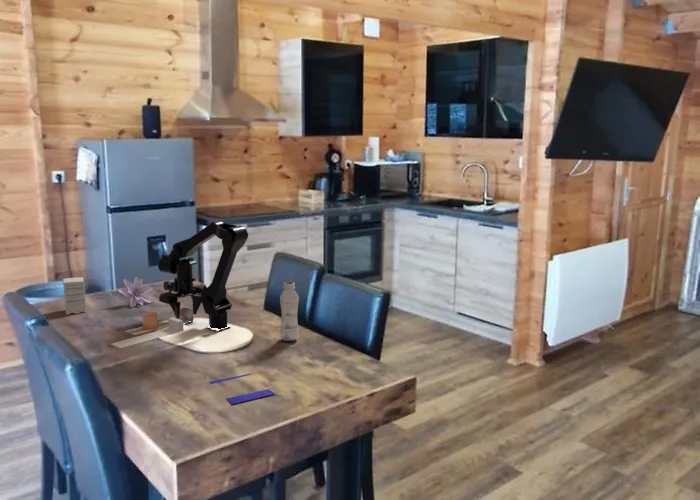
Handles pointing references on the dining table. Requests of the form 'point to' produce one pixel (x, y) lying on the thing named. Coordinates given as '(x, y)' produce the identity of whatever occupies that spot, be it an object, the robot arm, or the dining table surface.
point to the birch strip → (184, 315)
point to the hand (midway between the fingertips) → (186, 316)
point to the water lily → (136, 292)
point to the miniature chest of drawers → (74, 294)
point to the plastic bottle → (289, 313)
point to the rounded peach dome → (150, 320)
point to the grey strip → (153, 333)
